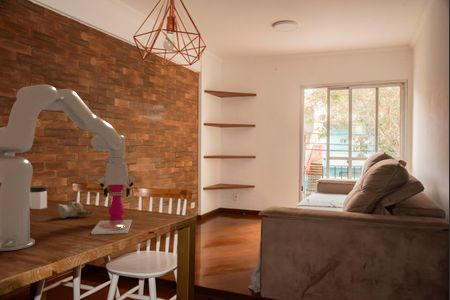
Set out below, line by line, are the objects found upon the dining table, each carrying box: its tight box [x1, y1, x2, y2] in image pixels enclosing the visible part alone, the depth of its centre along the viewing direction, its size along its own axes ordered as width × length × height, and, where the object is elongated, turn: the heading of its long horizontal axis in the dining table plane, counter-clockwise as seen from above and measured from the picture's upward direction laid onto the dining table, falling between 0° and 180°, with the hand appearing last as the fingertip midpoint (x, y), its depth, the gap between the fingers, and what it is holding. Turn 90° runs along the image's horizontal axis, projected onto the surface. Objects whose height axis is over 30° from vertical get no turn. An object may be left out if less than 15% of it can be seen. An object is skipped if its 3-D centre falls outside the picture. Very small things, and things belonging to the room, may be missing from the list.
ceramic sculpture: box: [57, 199, 93, 219], centre depth 171 cm, size 11×9×15 cm
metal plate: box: [90, 219, 133, 236], centre depth 149 cm, size 20×14×1 cm
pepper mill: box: [108, 185, 125, 220], centre depth 164 cm, size 7×7×20 cm
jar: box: [30, 185, 48, 210], centre depth 193 cm, size 9×8×12 cm
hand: (116, 196), depth 164 cm, fingers open, 9 cm apart
